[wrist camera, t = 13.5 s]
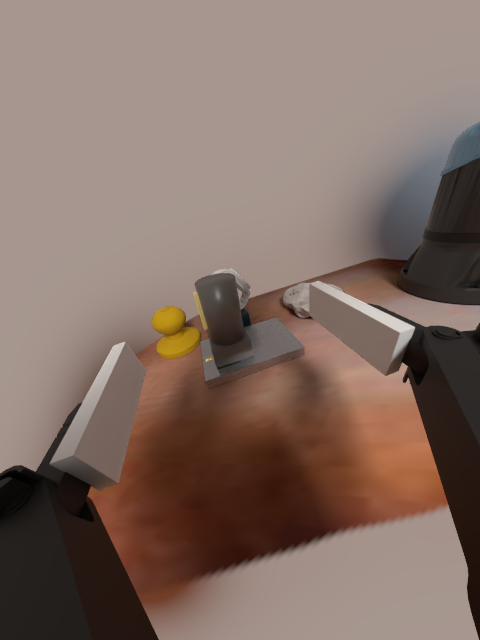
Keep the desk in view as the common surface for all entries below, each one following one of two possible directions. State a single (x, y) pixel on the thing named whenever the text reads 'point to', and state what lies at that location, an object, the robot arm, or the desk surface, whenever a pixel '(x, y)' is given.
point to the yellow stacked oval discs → (174, 333)
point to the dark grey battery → (222, 318)
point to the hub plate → (254, 352)
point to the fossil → (300, 298)
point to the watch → (244, 288)
